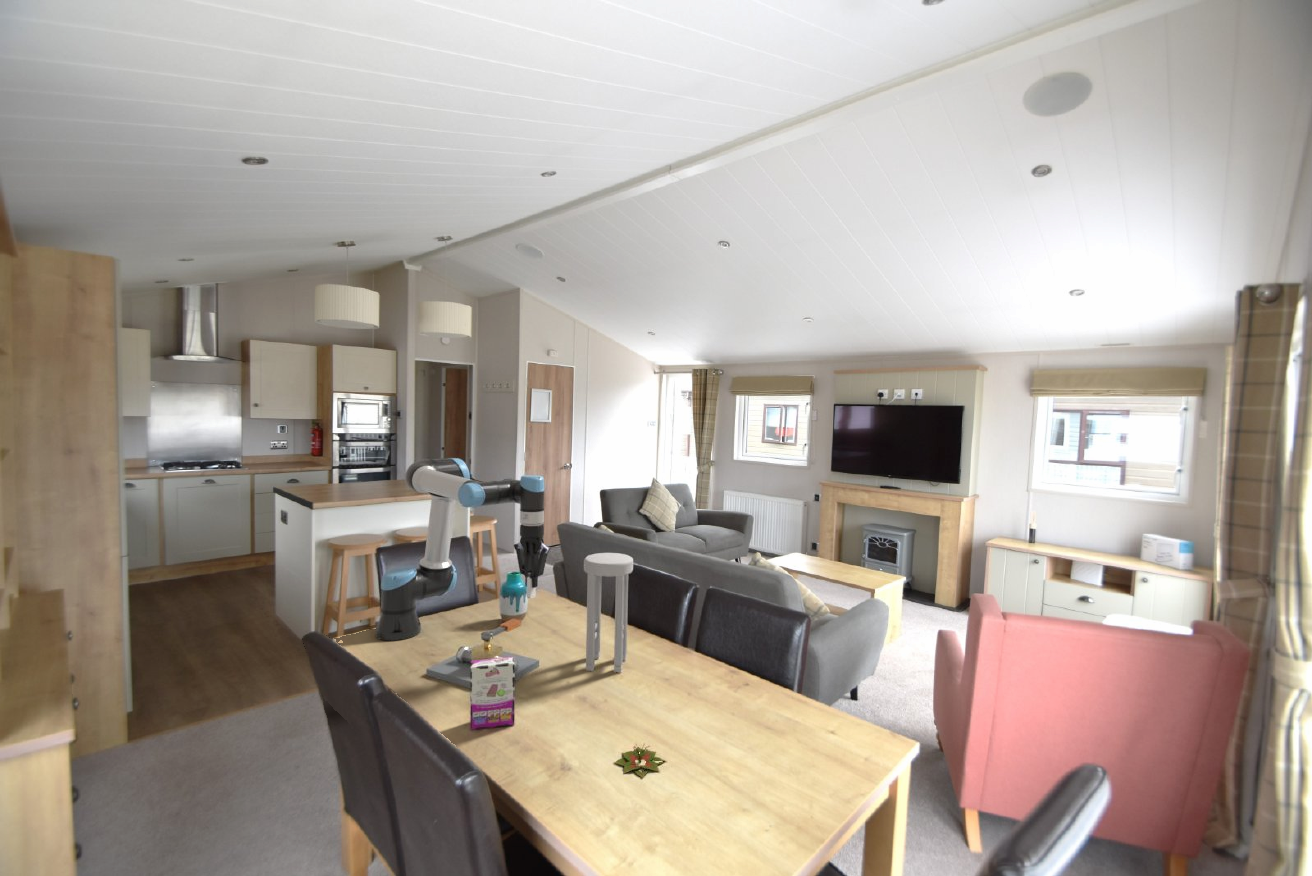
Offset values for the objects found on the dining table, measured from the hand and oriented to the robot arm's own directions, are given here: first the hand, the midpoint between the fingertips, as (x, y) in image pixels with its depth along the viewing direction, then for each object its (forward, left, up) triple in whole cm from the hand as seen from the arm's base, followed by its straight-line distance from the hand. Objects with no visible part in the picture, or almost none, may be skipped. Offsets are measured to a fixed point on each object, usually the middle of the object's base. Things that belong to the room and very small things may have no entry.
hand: (531, 597), depth 188 cm
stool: (+21, +13, -23) cm, 33 cm away
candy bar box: (+14, -33, -23) cm, 42 cm away
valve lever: (-8, -5, -12) cm, 15 cm away
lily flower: (+56, -30, -23) cm, 67 cm away
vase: (-31, +29, -23) cm, 48 cm away
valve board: (-10, -10, -22) cm, 27 cm away
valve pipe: (-8, -11, -21) cm, 25 cm away
